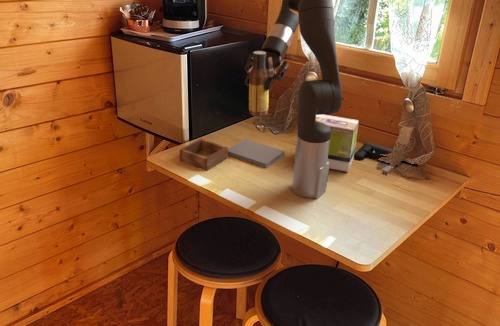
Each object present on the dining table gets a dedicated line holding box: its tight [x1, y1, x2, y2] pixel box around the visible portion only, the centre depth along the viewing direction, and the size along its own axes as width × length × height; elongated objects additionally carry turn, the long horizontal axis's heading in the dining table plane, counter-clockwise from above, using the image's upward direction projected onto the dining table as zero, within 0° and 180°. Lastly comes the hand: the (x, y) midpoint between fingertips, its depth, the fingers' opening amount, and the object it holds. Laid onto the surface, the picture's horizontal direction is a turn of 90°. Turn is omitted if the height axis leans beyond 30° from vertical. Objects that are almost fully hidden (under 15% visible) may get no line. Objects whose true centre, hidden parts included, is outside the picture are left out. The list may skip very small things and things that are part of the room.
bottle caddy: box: [179, 138, 229, 172], centre depth 157 cm, size 11×11×4 cm
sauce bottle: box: [248, 50, 270, 117], centre depth 151 cm, size 7×6×20 cm
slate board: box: [228, 138, 286, 169], centre depth 162 cm, size 16×12×2 cm
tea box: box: [316, 114, 360, 173], centre depth 157 cm, size 15×10×15 cm
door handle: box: [354, 141, 393, 175], centre depth 162 cm, size 3×20×16 cm
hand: (256, 86), depth 151 cm, fingers closed on sauce bottle, 6 cm apart
